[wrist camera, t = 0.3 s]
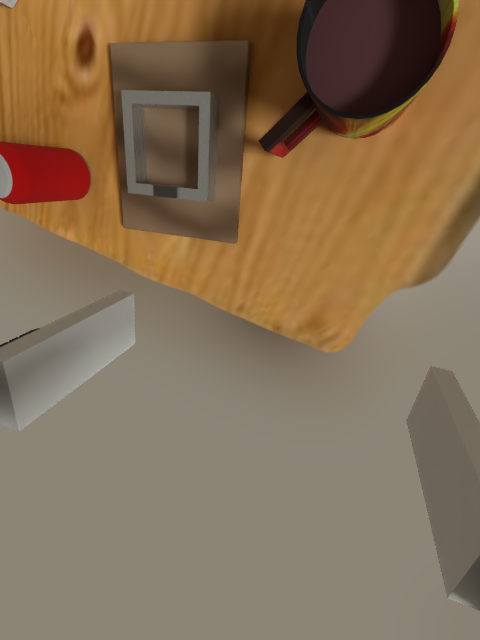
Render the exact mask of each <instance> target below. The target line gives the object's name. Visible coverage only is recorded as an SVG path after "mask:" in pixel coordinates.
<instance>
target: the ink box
mask: <svg viewBox="0 0 480 640" xmlns="http://www.w3.org/2000/svg"><path fill="white" fill-rule="evenodd" d="M17 1H18V0H0V3H2V4H4V5H6V6H8V7H10V8H13V7H14V5H15V4H16V2H17Z"/></svg>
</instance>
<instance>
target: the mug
mask: <svg viewBox="0 0 480 640" xmlns="http://www.w3.org/2000/svg"><path fill="white" fill-rule="evenodd" d="M458 9H459V0H306V2H305V5H304V8H303V11H302V14H301V18H300V22H299V28H298V34H297V59H298V66H299V71H300V74H301V77H302V80H303V83H304V85H305V87H306V89H307V91H308V92H307V93H306V94H305V95H304V96H303V97H302V98H301V99H300V100H299V101H298V102H297V103H296V104H295V105H294V106H293V107H292V108H291V109H290V110H289V111H288V112H287V113H286V114H285V115H284V116H283V117H282V118H281V119H280V120H279V121H278V122H277V123H276V124H275V125H274V126H273V127H272V128H271V129H270V130H269V131H268V132H267V133H266V134H265V135H264V136H263V137H262V138H261V139H260V140H259V142H260V144H261V145H262V147H263V148H264V150H265V151H267V152H270V153H273V154H275V155H276V156H279V157H282V158H283V157H284V156H286V155H287V154H288V153H289V152H290V151H291V150H292V149H294V148H295V147H296V146H297V145H298V144H299V143H300V142H301V141H302V140H303V139H304V138H305V137H306V136H307V135H308V134H310V133H311V132H312V131H313V130H314V129H315V128H316V127H317V126H318V125H319V124H320V123H321V122H322V121H323V122H324V124H325V125H326V126H327V127H328V128H329V129H330V130H332V131H333V132H335V133H336V134H338V135H341V136H343V137H346V138H355V139H356V138H366V137H369V136H372V135H375V134H377V133H379V132H381V131H383V130H385V129H386V128H388V127H389V126H390V125H392V124H393V123H394V122H395V121H396V120H397V119H398V118H399V117H400V116H401V115H402V114H403V113H404V112H405V110H406V109H407V108H408V106H409V105H410V104H411V103H412V101H413V100H414V99H415V97H416V96H417V95H418V94H419V92H420V91H421V90H422V89H423V87H424V86H425V85H426V83H427V82H428V81H429V80H430V78H431V77H432V75H433V74H434V72H435V71H436V70H437V68H438V67H439V65H440V64H441V62H442V60H443V58H444V56H445V54H446V52H447V50H448V48H449V46H450V43H451V39H452V36H453V33H454V30H455V27H456V22H457V15H458ZM315 108H316V111H315V112H314V113H313V114H312V115H310V116H309V117H308V118H307V119H306V120H305V121H304V122H303V123H302V124H301V125H300V126H299V127H298V128H297V129H296V130H295V131H294V132H293V133H292V134H291V135H290V136H289V137H288V138H287V139H286V140H285V141H284V142H283V141H282V140H283V139H284V138H285V137H286V136H287V135H288V134H289V133H290V132H291V131H292V130H293V129H294V128H295V127H296V126H297V125H298V124H299V123H300V122H301V121H302V120H303V119H304V118H305V117H306V116H307V115H308V114H309V113H310V112H312V111H313V110H314V109H315Z"/></svg>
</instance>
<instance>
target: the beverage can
mask: <svg viewBox="0 0 480 640" xmlns="http://www.w3.org/2000/svg"><path fill="white" fill-rule="evenodd" d="M90 185H91V173H90V170H89V167H88V165H87V163H86V161H85V160H84V159H83V157H82V156H81V155H79V154H78V153H77V152H75V151H72V150H69V149H62V148H53V147H43V146H34V145H25V144H16V143H7V142H0V200H2V201H4V202H7V203H11V204H25V203H38V202H52V201H66V200H78V199H81V198H83V197H84V196H85V195H86V194H87V193H88V191H89V189H90Z"/></svg>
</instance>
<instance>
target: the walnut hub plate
mask: <svg viewBox="0 0 480 640" xmlns="http://www.w3.org/2000/svg"><path fill="white" fill-rule="evenodd" d="M110 50H111V64H112V77H113V91H114V104H115V118H116V131H117V145H118V158H119V172H120V185H121V199H122V212H123V226H124V228H127V229H134V230H141V231H149V232H156V233H163V234H170V235H177V236H184V237H192V238H199V239H206V240H213V241H220V242H227V243H237V237H238V223H239V208H240V194H241V180H242V165H243V151H244V137H245V123H246V108H247V94H248V80H249V65H250V51H251V43H250V42H249V40H230V41H183V42H137V43H110ZM121 90H141V91H192V92H212V93H213V94H215V95H216V96H218V97H219V121H218V146H217V171H216V196H215V201H208V202H206V201H197V200H188V199H179V198H177V199H176V198H167V197H158V196H151V195H142V194H133V193H128V186H127V171H126V156H125V141H124V126H123V110H122V95H121ZM144 111H145V135H146V159H147V183H153V184H163V185H173V186H183V187H193V188H198V150H199V110H187V109H158V108H144Z"/></svg>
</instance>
